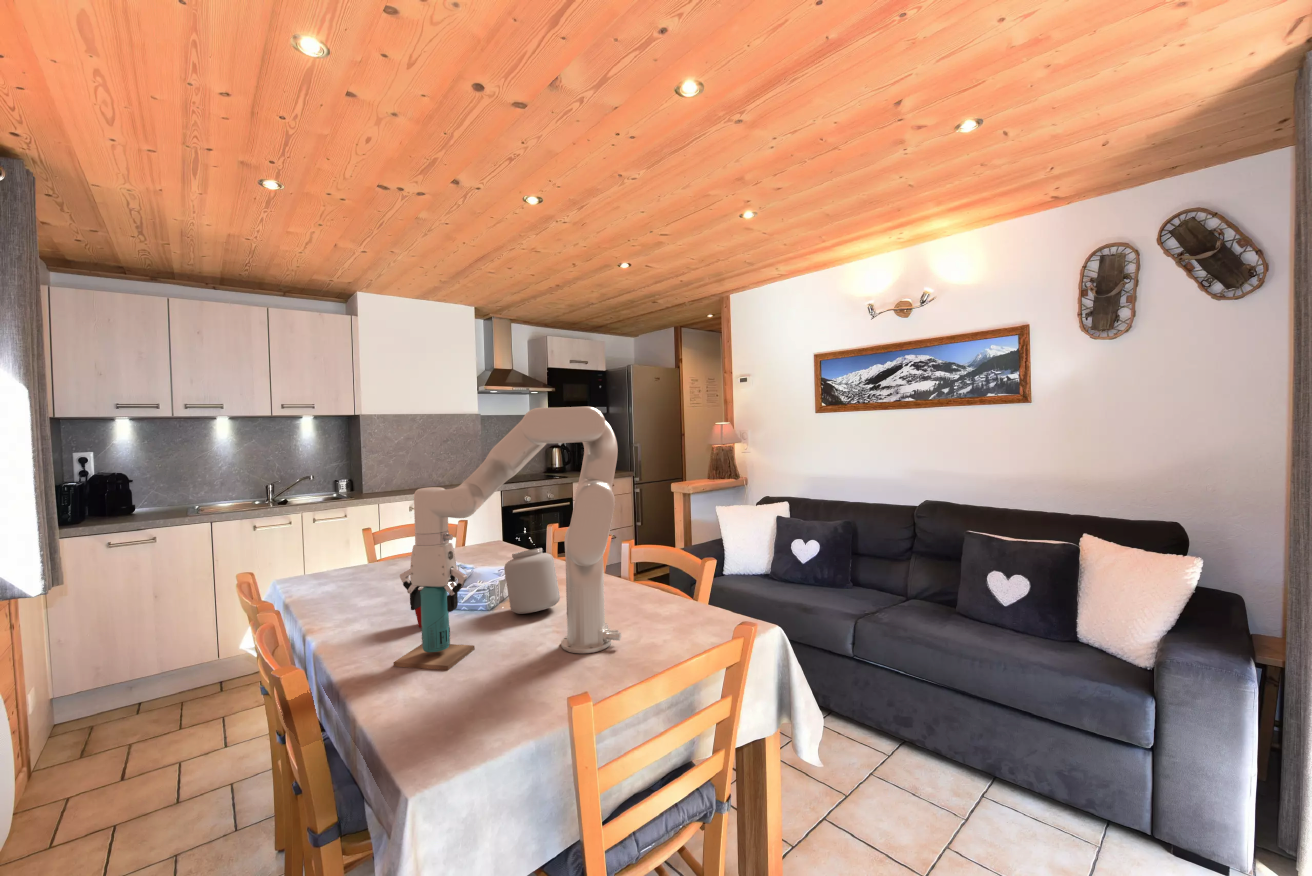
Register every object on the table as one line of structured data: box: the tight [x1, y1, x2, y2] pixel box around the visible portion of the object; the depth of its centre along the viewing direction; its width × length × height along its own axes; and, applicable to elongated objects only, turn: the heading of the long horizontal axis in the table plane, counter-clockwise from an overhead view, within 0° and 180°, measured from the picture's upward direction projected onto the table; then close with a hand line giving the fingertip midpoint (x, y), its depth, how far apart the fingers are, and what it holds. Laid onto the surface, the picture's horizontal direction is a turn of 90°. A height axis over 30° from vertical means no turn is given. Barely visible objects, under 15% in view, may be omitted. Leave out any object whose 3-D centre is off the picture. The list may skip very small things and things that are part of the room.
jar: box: [502, 527, 561, 615], centre depth 169 cm, size 19×15×25 cm
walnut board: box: [393, 643, 475, 671], centre depth 135 cm, size 14×12×1 cm
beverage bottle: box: [420, 587, 451, 652], centre depth 135 cm, size 6×7×20 cm
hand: (434, 609), depth 135 cm, fingers open, 9 cm apart
